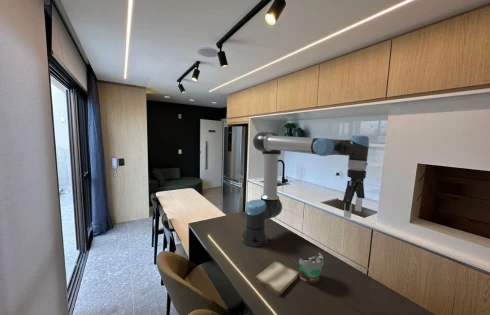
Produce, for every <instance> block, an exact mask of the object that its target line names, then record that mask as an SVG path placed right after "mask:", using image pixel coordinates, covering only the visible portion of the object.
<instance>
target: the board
mask: <svg viewBox="0 0 490 315" xmlns="http://www.w3.org/2000/svg"><path fill="white" fill-rule="evenodd" d="M299 275H300V271H299V272H298V271H296V270H295V269H293V268H290V267H289V266H287V265H284V264H283V263H281V262H279V261H276V260H275V261H273V263H271V264H269V265H268V266H267V267H266V268H265V269H263V270H262V271H261V272H259V273H258V274H257V275H256V276H254V282H255V283H257V284H258V285H260V286H262V287H263V288H266V289H267V290H268V291H269V292H271V293H273V294H275V295H277V296H278V297H280V296H281V295H282V294H283V293H284V292H285V291H286V290H287V288H289V287H290V286H291V284H292V283H294V281H296V280H297V279H298V277H299Z"/></svg>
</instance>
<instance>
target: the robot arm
mask: <svg viewBox="0 0 490 315" xmlns="http://www.w3.org/2000/svg"><path fill="white" fill-rule="evenodd" d="M369 141H370V138H369V136H367V135H350V138H349V139H338V138H337V139H336V138H326V137H320V138H318V137H305V136H304V137H303V136H302V137H301V136H288V135H287V136H285V135H282V134H280V133H277V132H269V131H260V132H258V133H256V134H255V136H254V137H253V139H252V143H253V147H254V148H255V149H256V150H257V151H259V152H261V155H262V156H264V159H263V160H264V161H263V162H264V163H263V192H262V194H261V195H260V199H259V198H258V199H252V200H249V201H248V202H246V207H245V226H244V229H243V233H242V235H241V241H242V243H243V244H244V245H247V246H249V247H252V248H253V247H257V248H258V247H262V246H265V245H267V243H268V236H267V231H266V221H269V220H271V219H273V218H276V217H277V216H279V215H280V214H281V213H282V210H283V203H282V201H281V200H280V195H278V172H279V170H278V168H279V157H280V156H281V155H282V151H283V152H290V153H299V154H300V153H301V154H309V155H318V156H320V157H327V156H348V162H347V168H348V169H347V171H346V172H347V174H346V176H347V177H348V178H350V180H347V182H346V183H347V184H346V188H345V192H344V195H343V198H342V203H344V210H343V217H344V218H347V219H351V218H352V210H353V203H352V202H353V199H354V197H355V194H356V197H355V205H354V211H356V212H362V207H363V199H365V198H366V196H365V189H364V188H365V187H364V186H365V185H364V180H365V179H367V178H366V177H367V176H366V175H367V167H368V166H369V163H368V157H369V156H368V155H369V147H370V146H369V145H370V144H369V143H370V142H369Z"/></svg>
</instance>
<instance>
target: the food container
mask: <svg viewBox="0 0 490 315" xmlns="http://www.w3.org/2000/svg"><path fill="white" fill-rule="evenodd" d="M298 264H299V280H300V281H301V282H303V283H306V284H307V285H316V284H318V283H319V282H320V281H321V280H320V279H321V274H322V270H323V269H322V268H323V266H324V265H325V262H324V256H323V255H322V253H320V252H318V254H315V255H310V256H308V257H306V258H304V259H302V258H299V260H298Z"/></svg>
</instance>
